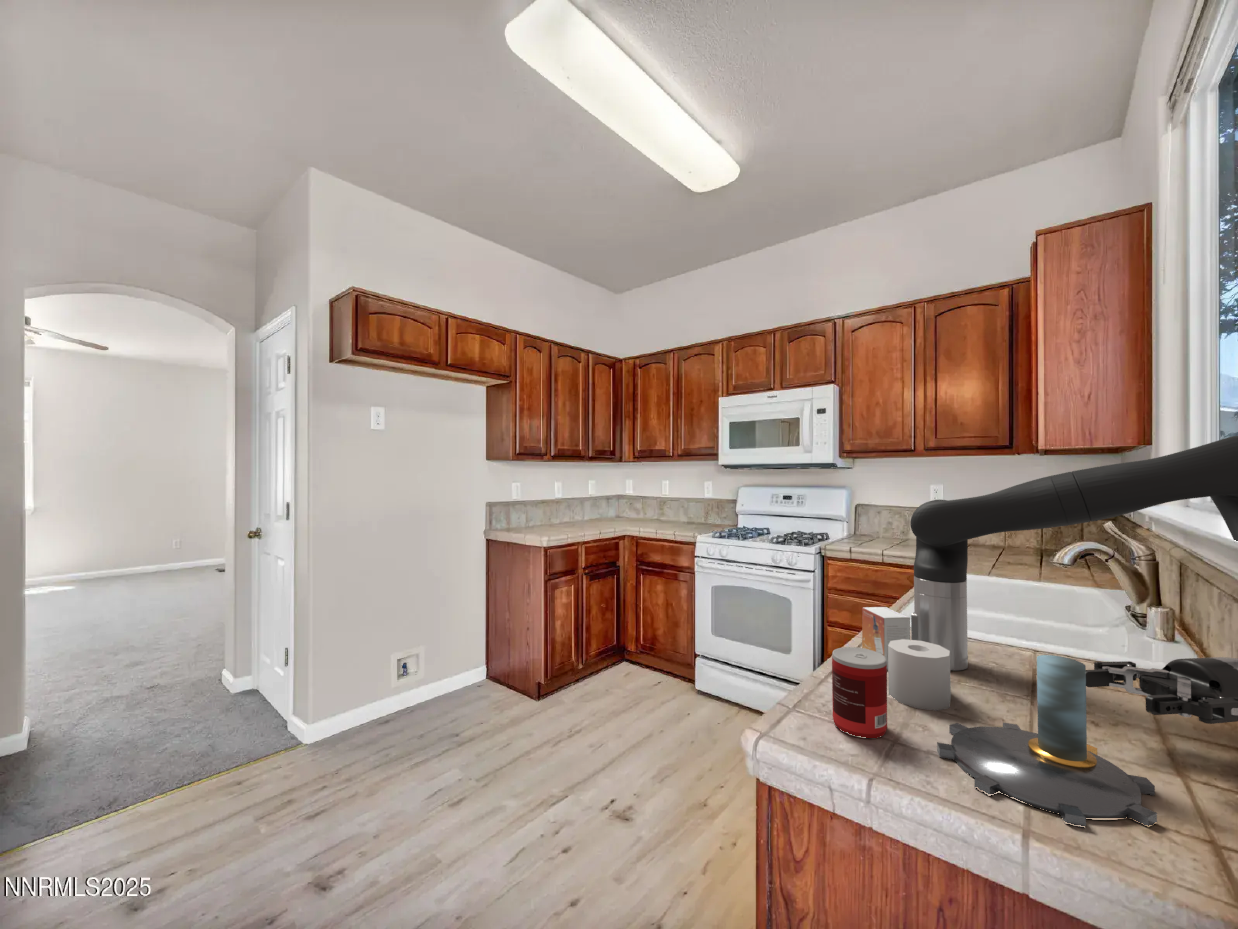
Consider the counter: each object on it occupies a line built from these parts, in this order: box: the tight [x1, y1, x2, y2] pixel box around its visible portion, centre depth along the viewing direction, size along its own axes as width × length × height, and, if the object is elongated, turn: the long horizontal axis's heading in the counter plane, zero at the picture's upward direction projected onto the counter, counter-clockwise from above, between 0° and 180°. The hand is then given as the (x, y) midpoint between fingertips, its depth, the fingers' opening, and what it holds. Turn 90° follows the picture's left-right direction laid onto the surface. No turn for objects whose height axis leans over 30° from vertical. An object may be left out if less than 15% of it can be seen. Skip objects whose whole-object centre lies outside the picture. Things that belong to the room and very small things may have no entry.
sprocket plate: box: [936, 722, 1158, 827], centre depth 67 cm, size 21×22×2 cm
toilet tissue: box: [887, 639, 952, 712], centre depth 91 cm, size 9×13×9 cm
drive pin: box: [1036, 654, 1088, 761], centre depth 70 cm, size 5×5×12 cm
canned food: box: [831, 646, 888, 739], centre depth 79 cm, size 8×8×11 cm
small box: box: [861, 606, 911, 670], centre depth 106 cm, size 8×6×10 cm
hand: (1114, 691), depth 70 cm, fingers open, 8 cm apart
